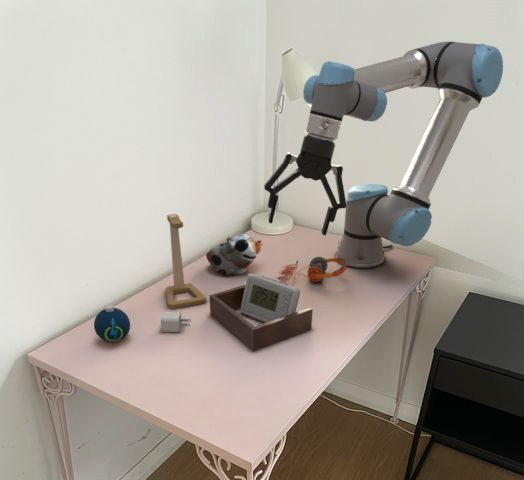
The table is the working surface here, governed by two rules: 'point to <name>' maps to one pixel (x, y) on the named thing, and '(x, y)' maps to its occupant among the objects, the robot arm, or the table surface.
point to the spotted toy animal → (234, 254)
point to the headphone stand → (179, 270)
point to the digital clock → (268, 298)
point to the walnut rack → (261, 334)
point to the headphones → (318, 269)
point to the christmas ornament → (112, 324)
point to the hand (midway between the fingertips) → (297, 228)
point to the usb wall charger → (173, 322)
